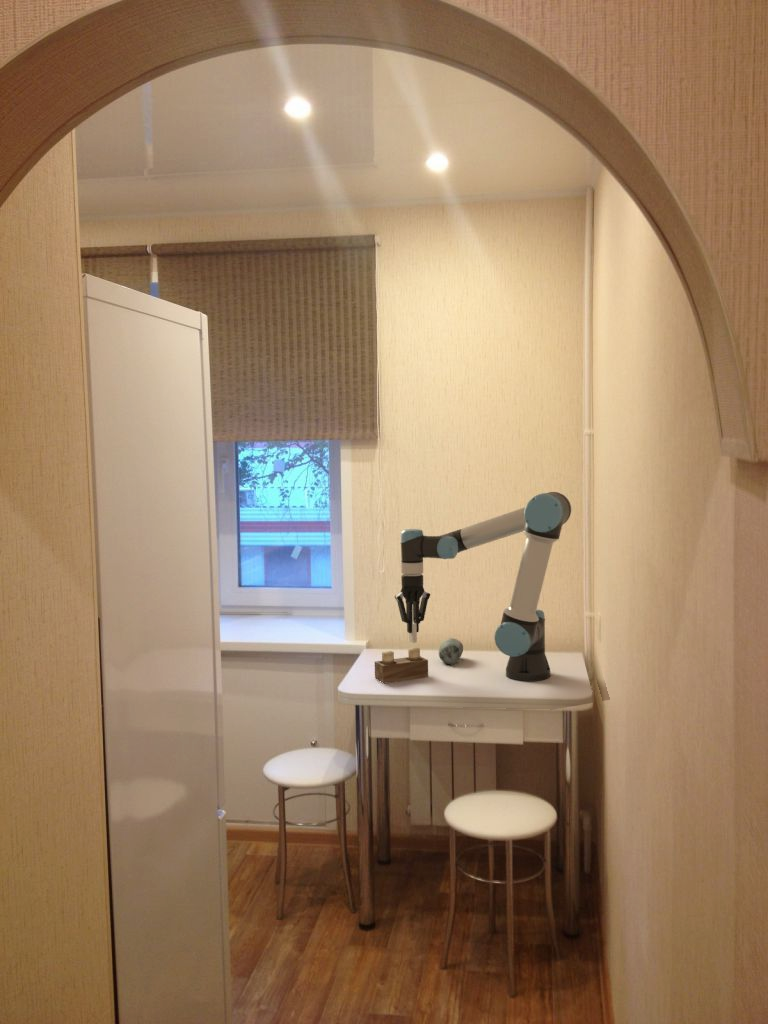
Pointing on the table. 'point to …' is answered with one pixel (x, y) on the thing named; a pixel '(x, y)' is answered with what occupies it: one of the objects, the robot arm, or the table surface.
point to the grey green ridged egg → (451, 651)
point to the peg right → (414, 654)
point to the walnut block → (401, 670)
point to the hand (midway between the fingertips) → (413, 641)
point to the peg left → (387, 657)
